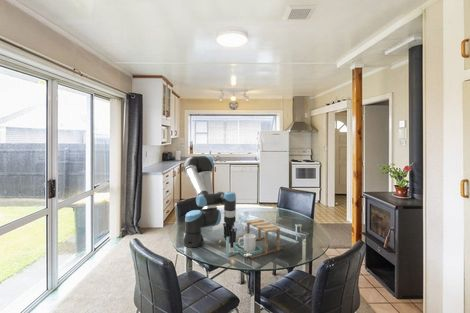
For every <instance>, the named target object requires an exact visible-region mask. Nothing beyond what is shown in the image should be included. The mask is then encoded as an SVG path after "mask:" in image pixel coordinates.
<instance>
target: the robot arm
mask: <svg viewBox="0 0 470 313" xmlns="http://www.w3.org/2000/svg"><path fill="white" fill-rule="evenodd" d="M214 169H215V163H214V159H213V158H212V157H211V156H210V155H199V156H197V155H196V156H189V157H188V158H186V159H185V160H184V162H183V164H182V170H183V173H184V175H185V176H187V179H189V180H188V181H189V183H190V184H191V186H192V188H193V191H194V192H195V194H196V197H195V204H196V205H197V207H202V208H201V210H199V209H193V210H190V211H188V212H186V214H185V216H184V217H185V218H184V221H185V222H184V223H185V231H184V232H185V233H184V237H183V239H182V245H183V246H184V247H186V248H198V247H201V246H203V245H204V243H205V239H204V235H203V233H202V229H204V228H211V227H215V226H218V225H220V223H221V221H222V213H221V210H220V209H218V207H217V205H223V215H224V216H223V221H224V222H223V224H222V226H223V237H224V239H225V240H226V237H228V236H230V242H229V253H230V252H234V249H233V244H234V243H237V242H236V240H237V230H238V228H237V227H235V223H236V222H237V221H236V220H237V219H236V214H237V212H236V211H237V209H236V206H237V205H236V204H237V197H236V196H237V195H236V193H235V192H234V191H225V192H223V191H217V192H215V193H214V192H213V191H214V190H213V183H212V176H211V174H212V173H213V170H214Z"/></svg>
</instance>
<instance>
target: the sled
mask: <svg viewBox="0 0 470 313" xmlns="http://www.w3.org/2000/svg"><path fill="white" fill-rule="evenodd" d="M229 242H230V236H228V237H226V239H225V251H226V253H225V254H226V256H227V257H232V256H234V255H236V254H240V255H241V256H243V255H244V254H246V253H247V252H245V251H244V249H242V248H241V247H239V245H238V242H235V243H233V252H230V253H229ZM240 245H241V246H244V240H243V241H240ZM248 253H250V254H252V256H253V255H257V254H260V253H264V248H262V247H261V246H259V245H258V244H256V249H255V251H253V252H248Z"/></svg>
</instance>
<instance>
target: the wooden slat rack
mask: <svg viewBox="0 0 470 313" xmlns="http://www.w3.org/2000/svg"><path fill="white" fill-rule="evenodd" d="M250 226H252V227H254V228H257V238H256V242H257V241H262V240H263V241H264V242H263V243H264V246H263V249H264V253H260V254H257V255H253V256H251V258H250V259H254V258H257V257H261V256H264V255H268V254H271V253H274V252H278V251H282V250H284V246H281V247H279V242H281V241H280V239H281V238H280V236H281V235H280V234H281V227H280V226H277V225H275V224H273V223H271V222H268V221H266V220H264V219H262V218H255V219H250V220H247V221H246V234H250V230H251V229H250ZM262 231H263V232H264V237H261V235H262V234H261V233H262ZM275 231H276V238H275V239H276V245H275V246H276V247H275V249H271V250H268V242H269V241H268V240H269V238H268V237H269V233H270V232H275Z"/></svg>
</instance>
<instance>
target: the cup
mask: <svg viewBox="0 0 470 313" xmlns="http://www.w3.org/2000/svg"><path fill="white" fill-rule="evenodd" d="M256 239H257V236H256V235H255V233H254V234H253V233H249V234H247V233H245V234H244V235H243V237H239V238H238V241H237V243H238V245H239V246H238V248H240V249H243V251H244V252H245V251H249V252H253V251H256V245H257V244H256V243H257V241H256ZM241 240H243V241H244V245H242V246H241V245H240V242H241ZM249 252H248V253H249Z"/></svg>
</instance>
